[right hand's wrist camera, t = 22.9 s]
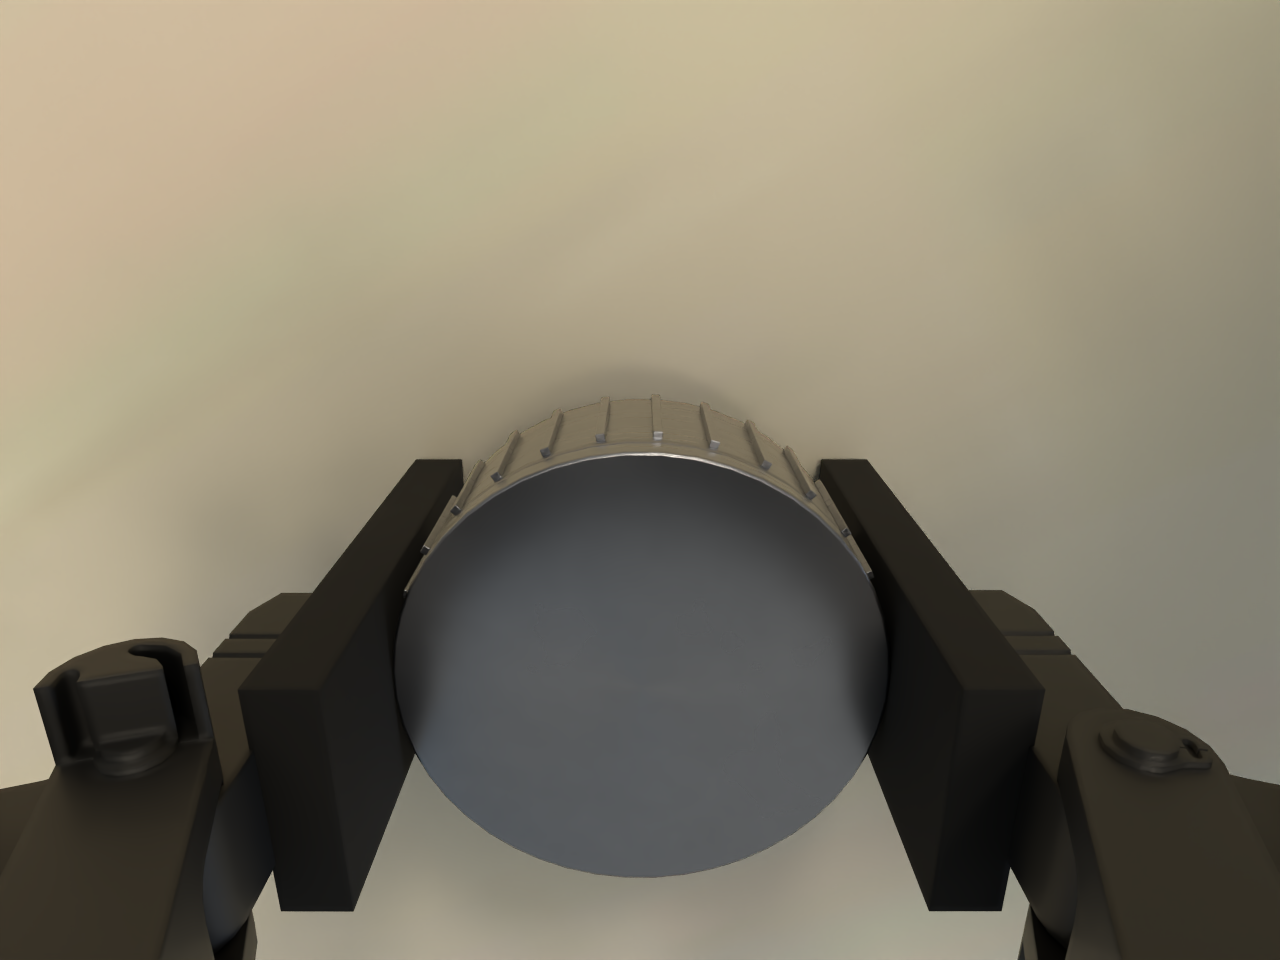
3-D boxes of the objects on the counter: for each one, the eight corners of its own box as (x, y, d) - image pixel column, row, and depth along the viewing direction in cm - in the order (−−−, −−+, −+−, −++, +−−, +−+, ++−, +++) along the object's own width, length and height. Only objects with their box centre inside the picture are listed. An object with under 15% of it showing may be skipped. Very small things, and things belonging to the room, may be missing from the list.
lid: (387, 706, 13) (337, 813, 11) (494, 328, 11) (458, 369, 9) (757, 810, 14) (779, 930, 11) (923, 474, 12) (987, 543, 9)
